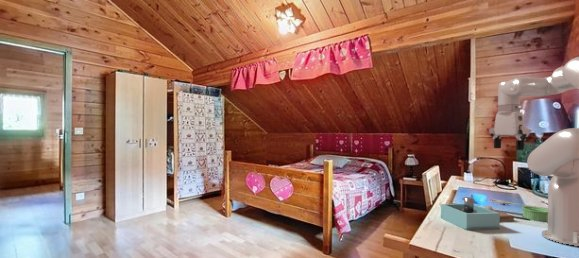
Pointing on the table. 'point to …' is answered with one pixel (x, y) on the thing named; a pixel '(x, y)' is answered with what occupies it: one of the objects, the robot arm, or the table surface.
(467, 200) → the square base knob
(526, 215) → the ramekin
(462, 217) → the bin
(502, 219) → the stud plate
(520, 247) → the table surface
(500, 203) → the adjustable wrench
